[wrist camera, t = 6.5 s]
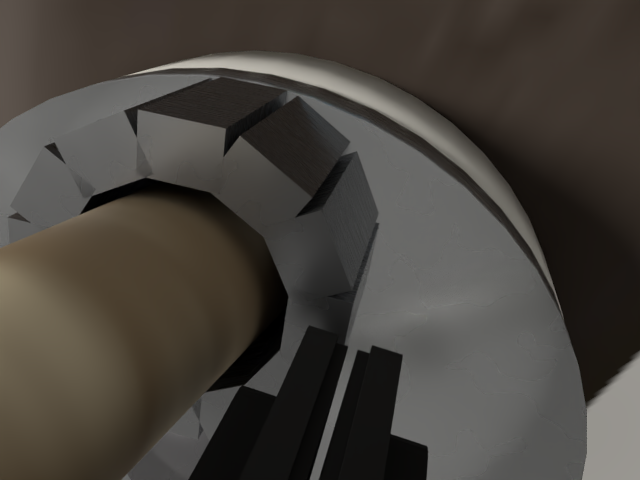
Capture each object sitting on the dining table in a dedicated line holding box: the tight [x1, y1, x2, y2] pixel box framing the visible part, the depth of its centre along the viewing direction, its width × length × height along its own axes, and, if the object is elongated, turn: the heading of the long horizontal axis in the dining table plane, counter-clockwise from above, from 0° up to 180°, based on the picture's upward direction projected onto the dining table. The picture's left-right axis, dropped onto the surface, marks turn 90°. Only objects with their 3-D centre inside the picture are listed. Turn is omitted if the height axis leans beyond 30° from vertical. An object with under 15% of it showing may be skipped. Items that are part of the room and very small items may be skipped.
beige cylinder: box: [0, 181, 289, 480], centre depth 9 cm, size 4×4×14 cm
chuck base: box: [119, 50, 564, 319], centre depth 21 cm, size 21×21×4 cm
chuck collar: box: [0, 68, 587, 480], centre depth 17 cm, size 21×21×6 cm
